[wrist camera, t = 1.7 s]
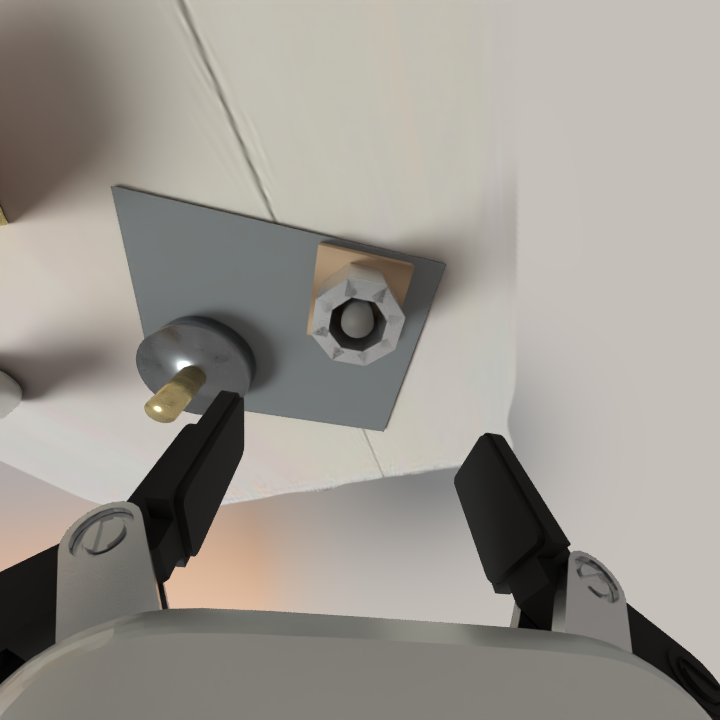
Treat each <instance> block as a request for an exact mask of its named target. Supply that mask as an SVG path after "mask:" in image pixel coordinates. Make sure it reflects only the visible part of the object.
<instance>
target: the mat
mask: <svg viewBox="0 0 720 720" xmlns="http://www.w3.org/2000/svg"><path fill="white" fill-rule="evenodd" d="M111 189H112V194H113V198H114V203H115V207H116V212H117V216H118V221H119V225H120V230H121V234H122V239H123V243H124V248H125V252H126V257H127V261H128V266H129V270H130V275H131V279H132V284H133V288H134V293H135V297H136V302H137V306H138V311H139V315H140V320H141V324H142V329H143V333H144V338H146V337H148V336H149V335H151V334H152V333H154V332H155V331H157V330H158V329H160V328H161V327H163V326H164V325H166V324H167V323H169V322H171V321H172V320H174V319H177V318H180V317H184V316H202V317H207V318H211V319H214V320H217V321H219V322H221V323H224V324H226V325H227V326H229V327H230V328H232V329H233V330H235V331H236V332H237V333H238V334H239V335H241V336H242V337H243V339H244V340H245V341H246V342H247V343H248V345H249V346H250V348H251V350H252V352H253V354H254V357H255V360H256V375H255V378H254V380H253V382H252V384H251V386H250V387H249V389H248V391H247V393H246V394H245V396H244V411H249V412H255V413H262V414H269V415H276V416H282V417H289V418H296V419H303V420H309V421H316V422H323V423H329V424H336V425H343V426H350V427H356V428H363V429H370V430H377V431H383V432H384V429H385V426H386V424H387V421H388V418H389V416H390V413H391V410H392V408H393V405H394V402H395V399H396V397H397V394H398V391H399V389H400V386H401V383H402V381H403V378H404V375H405V373H406V370H407V367H408V364H409V362H410V359H411V356H412V354H413V351H414V348H415V346H416V343H417V340H418V337H419V335H420V332H421V329H422V327H423V324H424V321H425V319H426V316H427V313H428V311H429V308H430V305H431V302H432V300H433V297H434V294H435V292H436V289H437V286H438V284H439V281H440V278H441V275H442V273H443V270H444V267H445V264H443V263H439V262H435V261H431V260H426V259H422V258H418V257H414V256H409V255H405V254H401V253H397V252H393V251H388V250H384V249H380V248H376V247H371V246H367V245H363V244H359V243H354V242H350V241H346V240H342V239H337V238H333V237H329V236H325V235H320V234H316V233H312V232H308V231H303V230H299V229H295V228H291V227H287V226H282V225H278V224H274V223H270V222H265V221H261V220H257V219H253V218H248V217H244V216H240V215H236V214H231V213H227V212H223V211H219V210H214V209H210V208H206V207H202V206H197V205H193V204H189V203H185V202H181V201H176V200H172V199H168V198H164V197H159V196H155V195H151V194H147V193H142V192H138V191H134V190H130V189H125V188H121V187H117V186H111ZM320 242H324V243H328V244H332V245H336V246H341V247H345V248H349V249H354V250H358V251H362V252H367V253H371V254H375V255H379V256H384V257H388V258H392V259H397V260H401V261H405V262H410V263H412V264H413V265H414V267H415V268H414V271H413V274H412V277H411V280H410V284H409V287H408V290H407V293H406V296H405V299H404V303H403V306H402V311H403V313H404V316H405V321H404V324H403V327H402V330H401V333H400V336H399V339H398V342H397V345H396V348H395V350H394V351H392V352H390V353H388V354H386V355H385V356H383V357H381V358H379V359H377V360H375V361H374V362H372V363H370V364H368V365H366V366H363V365H358V364H352V363H346V362H341V361H335V360H332V359H331V358H330V357H329V355H328V354H327V353H326V352H325V351H324V349H323V348H322V347H321V346H320V344H319V343H318V342H317V341H316V340H315V338H314V337H313V336H312V335H307V328H308V320H309V312H310V304H311V297H312V289H313V281H314V273H315V265H316V258H317V250H318V244H319V243H320Z"/></svg>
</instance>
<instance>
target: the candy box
mask: <svg viewBox="0 0 720 720" xmlns="http://www.w3.org/2000/svg"><path fill="white" fill-rule="evenodd" d="M7 224H8V222H7V220H6V219H5V217H4V214H3V212H2V210H1V207H0V225H7Z"/></svg>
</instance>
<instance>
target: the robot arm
mask: <svg viewBox="0 0 720 720" xmlns="http://www.w3.org/2000/svg"><path fill="white" fill-rule="evenodd" d="M243 451H244V398H242V397H240V396H239V393H237V392H230V391H224V390H222V391H220V392H219V394H218V395H217V396H216V398H215V399H214V401H213V402H212V403H211V405H210V406H209V407H208V409H207V410H206V412H205V413H204V414H203V416H202V417H201V419H200V420H199V421H198V423H197V424H188V425H186V426H185V427H184V428H183V429H182V430H181V432H180V433H179V434H178V436H177V437H176V438H175V439H174V441H173V442H172V443H171V445H170V446H169V447H168V448H167V450H166V451H165V452H164V454H163V455H162V456H161V458H160V459H159V460H158V461H157V463H156V464H155V465H154V467H153V468H152V469H151V471H150V472H149V473H148V474H147V476H146V477H145V478H144V480H143V481H142V482H141V484H140V485H139V486H138V487H137V489H136V490H135V491H134V493H133V494H132V495H131V496H130V498H129V499H128V500H127V502H125V501H121V502H112V503H109V504H105V505H102V506H100V507H98V508H96V509H94V510H92V511H90V512H88V513H86V514H85V515H84V516H83V517H81V518H79V519H78V520H77V521H76V522H75V523H74V524H73V525H72V526H71V527H70V528H69V529H68V530H67V531H66V533H65V535H64V536H63V538H62V539H61V541H60V543H59V544H57V545H55V546H53V547H51V548H49V549H47V550H45V551H43V552H41V553H38V554H36V555H35V556H32V557H30V558H28V559H26V560H24V561H22V562H20V563H18V564H16V565H14V566H12V567H10V568H8V569H5V570H4V571H1V572H0V720H720V684H719V683H718V682H717V680H716V679H715V678H714V676H713V675H712V674H711V673H710V672H709V671H708V670H707V669H706V667H705V666H704V665H703V664H702V663H701V662H700V661H699V660H698V659H696V658H695V657H694V656H693V655H692V654H691V653H690V652H688V651H687V650H686V649H685V648H683V647H682V646H681V645H679V644H678V643H677V642H676V641H674V640H673V639H672V638H671V637H669V636H668V635H667V634H666V633H664V632H663V631H662V630H661V629H659V628H658V627H657V626H655V625H654V624H653V623H652V622H650V621H649V620H648V619H647V618H645V617H644V616H643V615H642V614H640V613H639V612H638V611H636V610H635V609H634V608H633V607H631V606H630V605H629V604H628V603H626V599H625V595H624V592H623V590H622V588H621V586H620V584H619V582H618V581H617V579H616V578H615V577H614V575H613V574H612V573H611V572H610V571H609V570H608V569H607V568H606V567H605V566H604V565H603V564H602V563H601V562H599V561H598V560H597V559H596V558H594V557H592V556H591V555H589V554H588V553H584V552H582V551H573V552H572V553H570V551H569V550H568V548H567V547H568V546H570V542H569V541H568V539H567V537H566V536H565V534H564V533H563V531H562V529H561V528H560V526H559V525H558V523H557V521H556V520H555V518H554V517H553V515H552V513H551V512H550V510H549V509H548V507H547V505H546V504H545V502H544V501H543V499H542V497H541V496H540V494H539V493H538V491H537V489H536V488H535V487H534V485H533V483H532V481H531V480H530V478H529V477H528V475H527V473H526V472H525V470H524V469H523V467H522V465H521V464H520V462H519V461H518V459H517V458H516V456H515V454H514V453H513V451H512V450H511V448H510V446H509V445H508V443H507V442H506V440H505V438H504V437H503V436H502V435H498V434H492V433H485V434H484V435H483V436H480V438H479V439H478V441H477V442H476V444H475V445H474V447H473V449H472V450H471V452H470V453H469V455H468V457H467V458H466V460H465V461H464V463H463V464H462V466H461V468H460V469H459V471H458V473H457V474H456V476H455V479H454V484H455V487H456V490H457V493H458V496H459V499H460V502H461V505H462V508H463V511H464V514H465V516H466V519H467V522H468V525H469V528H470V531H471V534H472V537H473V540H474V543H475V545H476V548H477V551H478V554H479V557H480V560H481V563H482V565H483V568H484V571H485V574H486V577H487V579H488V580H489V581H490V582H491V583H492V585H493V588H494V591H495V593H498V594H511V593H512V594H513V597H514V600H515V605H514V609H513V615H512V619H511V624H510V627H497V626H483V625H470V624H457V623H443V622H428V621H413V620H399V619H383V618H369V617H354V616H338V615H322V614H307V613H291V612H275V611H256V610H233V609H209V608H193V609H170V608H169V603H168V599H167V594H166V589H165V585H164V582H165V581H167V580H168V579H169V578H170V576H171V574H172V572H173V570H174V568H175V566H177V567H185V566H186V564H187V562H188V560H189V558H190V556H196V555H197V554H198V552H199V550H200V548H201V545H202V543H203V541H204V539H205V537H206V535H207V533H208V530H209V528H210V526H211V524H212V521H213V519H214V517H215V515H216V513H217V511H218V508H219V506H220V504H221V502H222V499H223V497H224V495H225V493H226V491H227V488H228V486H229V484H230V482H231V480H232V477H233V475H234V473H235V471H236V469H237V466H238V464H239V462H240V460H241V458H242V455H243Z"/></svg>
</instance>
